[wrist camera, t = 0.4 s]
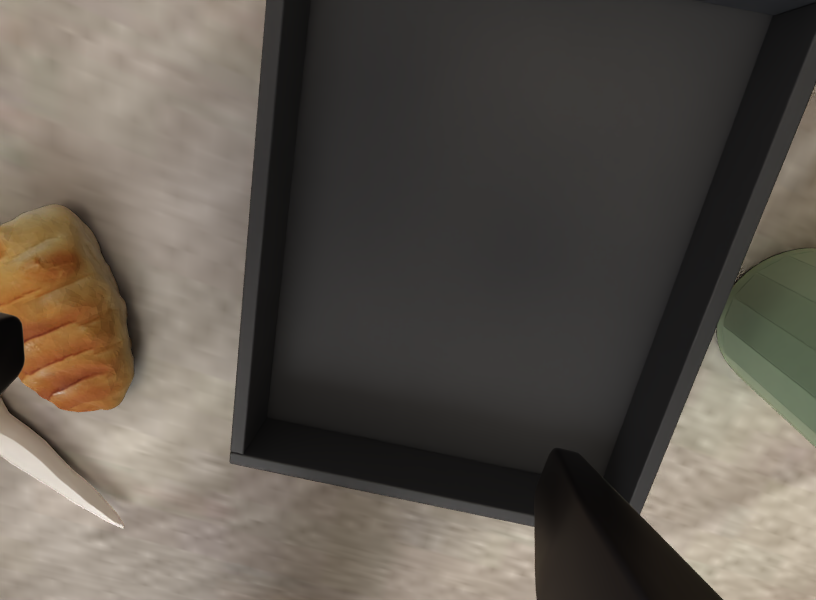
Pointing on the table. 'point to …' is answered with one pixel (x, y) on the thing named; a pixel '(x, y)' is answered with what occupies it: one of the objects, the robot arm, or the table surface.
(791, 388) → the bottle
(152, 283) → the table surface
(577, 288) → the tray
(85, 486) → the parsnip
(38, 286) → the pastry
